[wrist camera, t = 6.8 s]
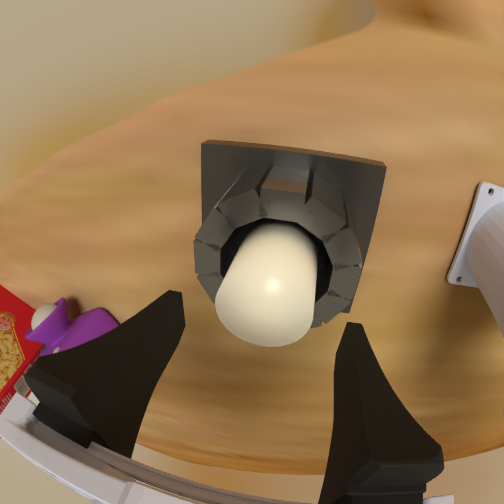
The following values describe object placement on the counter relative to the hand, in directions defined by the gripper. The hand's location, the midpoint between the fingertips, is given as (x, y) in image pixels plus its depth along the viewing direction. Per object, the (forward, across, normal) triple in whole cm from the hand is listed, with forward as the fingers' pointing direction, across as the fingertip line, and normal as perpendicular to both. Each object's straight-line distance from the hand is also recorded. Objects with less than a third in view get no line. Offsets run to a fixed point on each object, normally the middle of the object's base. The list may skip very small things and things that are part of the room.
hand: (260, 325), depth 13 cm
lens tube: (+9, 0, 0) cm, 9 cm away
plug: (+7, 0, 0) cm, 7 cm away
